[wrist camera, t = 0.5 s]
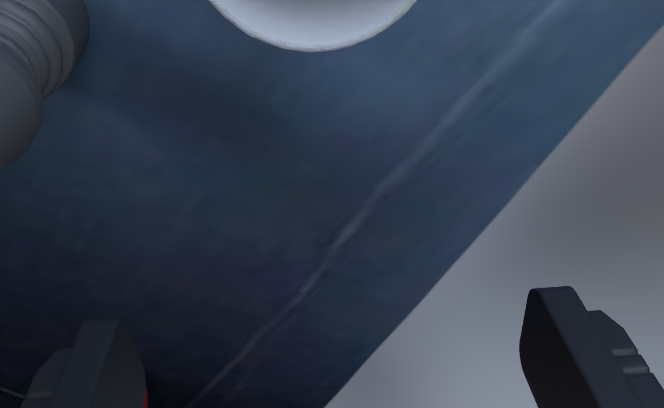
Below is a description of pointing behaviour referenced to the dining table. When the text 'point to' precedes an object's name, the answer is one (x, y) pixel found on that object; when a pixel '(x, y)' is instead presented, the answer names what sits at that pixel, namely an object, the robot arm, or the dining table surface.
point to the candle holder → (34, 64)
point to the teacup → (312, 21)
